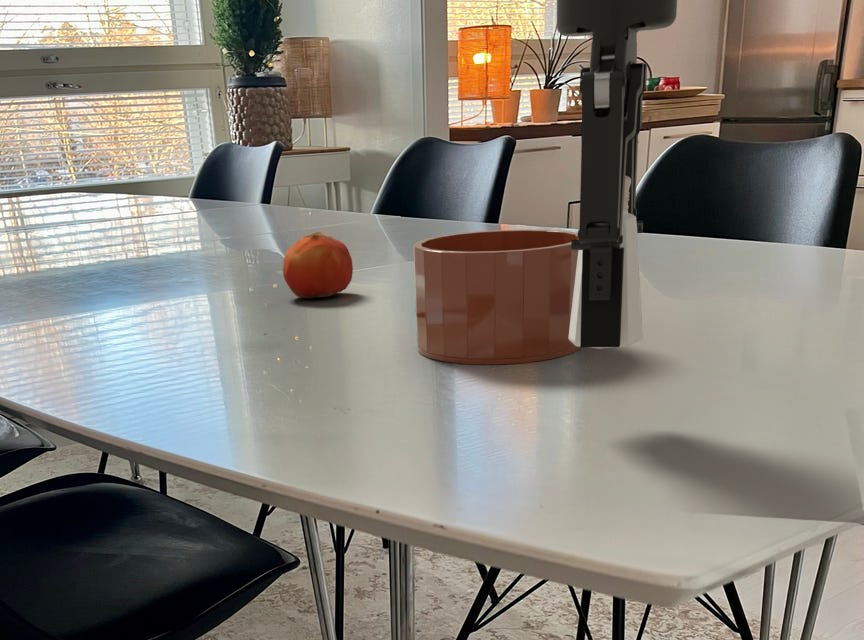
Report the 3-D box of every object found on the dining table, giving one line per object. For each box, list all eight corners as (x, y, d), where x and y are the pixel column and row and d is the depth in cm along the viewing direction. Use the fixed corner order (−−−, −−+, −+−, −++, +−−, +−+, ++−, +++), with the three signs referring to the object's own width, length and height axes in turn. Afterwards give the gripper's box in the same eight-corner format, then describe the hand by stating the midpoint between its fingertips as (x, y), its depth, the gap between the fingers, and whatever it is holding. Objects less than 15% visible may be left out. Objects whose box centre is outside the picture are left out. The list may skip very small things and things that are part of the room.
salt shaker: (638, 349, 72) (646, 178, 67) (561, 348, 74) (563, 182, 68) (647, 332, 76) (655, 171, 71) (574, 332, 78) (577, 175, 73)
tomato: (288, 305, 131) (281, 238, 127) (283, 294, 139) (277, 231, 135) (359, 299, 132) (355, 233, 128) (350, 288, 140) (346, 226, 136)
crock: (592, 329, 108) (597, 228, 103) (569, 366, 94) (573, 251, 89) (440, 328, 113) (438, 231, 108) (397, 363, 99) (392, 253, 94)
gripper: (578, -23, 73) (572, 313, 84) (532, -49, 57) (532, 366, 68) (687, -35, 71) (666, 311, 81) (669, -65, 55) (647, 367, 66)
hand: (605, 336), depth 75 cm, fingers closed on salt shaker, 5 cm apart
